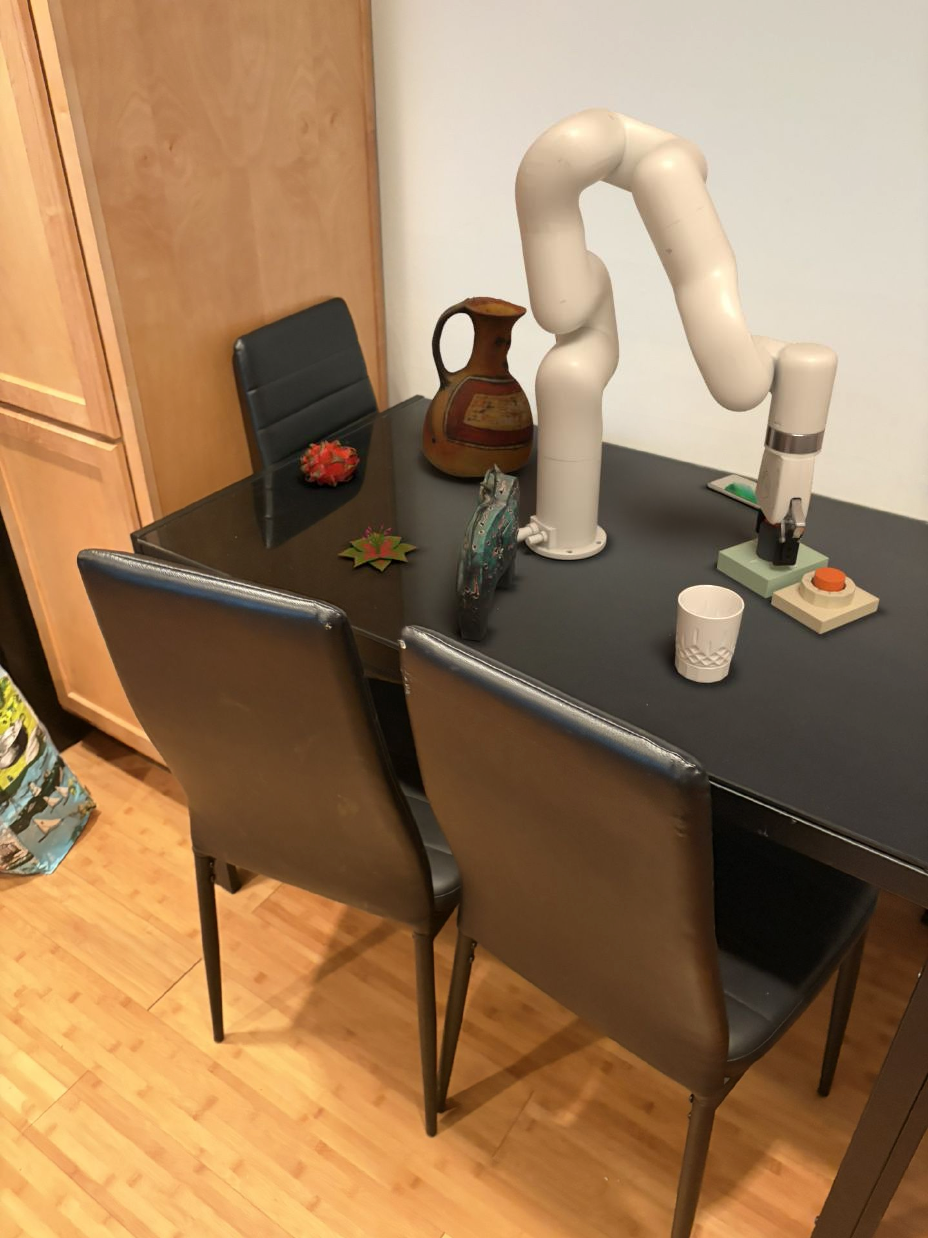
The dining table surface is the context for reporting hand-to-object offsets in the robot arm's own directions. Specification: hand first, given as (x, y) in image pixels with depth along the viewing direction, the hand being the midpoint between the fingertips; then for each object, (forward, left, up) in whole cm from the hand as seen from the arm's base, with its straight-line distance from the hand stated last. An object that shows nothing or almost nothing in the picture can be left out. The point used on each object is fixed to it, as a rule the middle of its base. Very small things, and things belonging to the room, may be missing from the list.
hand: (774, 548), depth 141 cm
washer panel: (0, 0, -4) cm, 4 cm away
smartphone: (+16, +20, -4) cm, 26 cm away
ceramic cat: (-40, +14, -4) cm, 43 cm away
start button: (-1, -11, 0) cm, 11 cm away
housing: (-1, -11, -4) cm, 12 cm away
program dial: (0, 0, -1) cm, 1 cm away
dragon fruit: (-42, +65, -4) cm, 77 cm away
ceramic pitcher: (-17, +56, -4) cm, 59 cm away
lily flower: (-47, +36, -4) cm, 59 cm away
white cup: (-25, -13, -4) cm, 29 cm away
